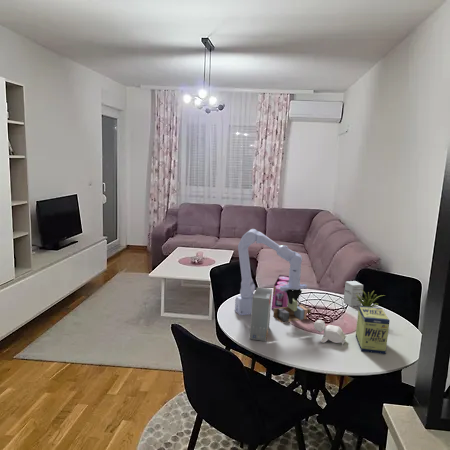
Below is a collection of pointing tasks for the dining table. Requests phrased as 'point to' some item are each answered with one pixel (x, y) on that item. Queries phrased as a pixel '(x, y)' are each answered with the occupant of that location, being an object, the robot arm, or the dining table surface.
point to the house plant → (369, 300)
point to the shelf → (291, 313)
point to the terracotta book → (304, 311)
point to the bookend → (283, 315)
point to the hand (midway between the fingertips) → (292, 303)
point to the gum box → (280, 292)
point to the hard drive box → (260, 314)
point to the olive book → (293, 305)
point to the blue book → (299, 313)
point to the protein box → (372, 329)
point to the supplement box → (352, 293)
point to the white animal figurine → (330, 332)
